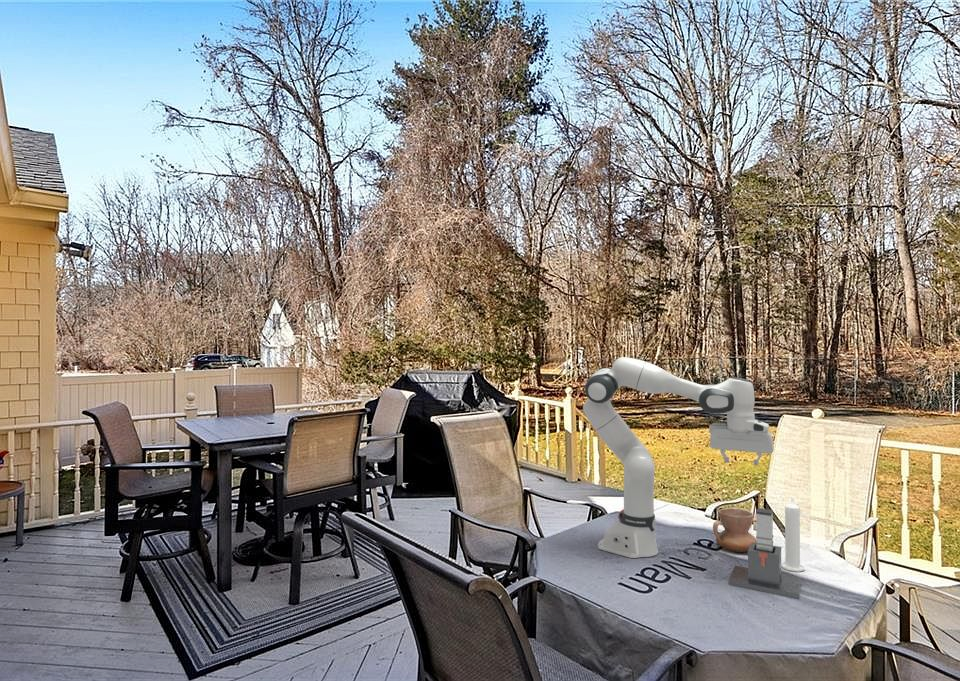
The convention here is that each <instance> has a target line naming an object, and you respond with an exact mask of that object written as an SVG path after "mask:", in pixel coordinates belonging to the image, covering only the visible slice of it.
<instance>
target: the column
mask: <svg viewBox="0 0 960 681" xmlns="http://www.w3.org/2000/svg"><path fill="white" fill-rule="evenodd" d="M755 512H756V516H755V518H756V522H755V523H756V528H755V529H756V533H755V534H756V535H755V538H756V540H757V541H756V544H757V547H756V550H758V551H764V552H770V553H773V549H774V547H773V546H774V540H773V539H774V531H773V529H774V528H773V527H774V526H773V525H774V524H773V523H774V520H773V518H774V517H773V516H774V515H773V514H774V513H773V512H774V511H773V509H767V508H760V507H759V508H758V507H757V509H756V511H755Z"/></svg>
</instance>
